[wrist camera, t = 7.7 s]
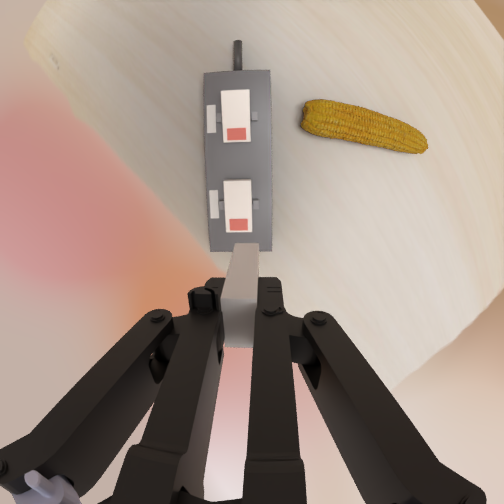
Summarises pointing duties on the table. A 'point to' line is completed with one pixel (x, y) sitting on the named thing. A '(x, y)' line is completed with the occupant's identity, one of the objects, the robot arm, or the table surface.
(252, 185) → the power strip
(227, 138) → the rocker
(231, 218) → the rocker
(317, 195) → the table surface
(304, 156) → the table surface
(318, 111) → the food
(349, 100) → the table surface
